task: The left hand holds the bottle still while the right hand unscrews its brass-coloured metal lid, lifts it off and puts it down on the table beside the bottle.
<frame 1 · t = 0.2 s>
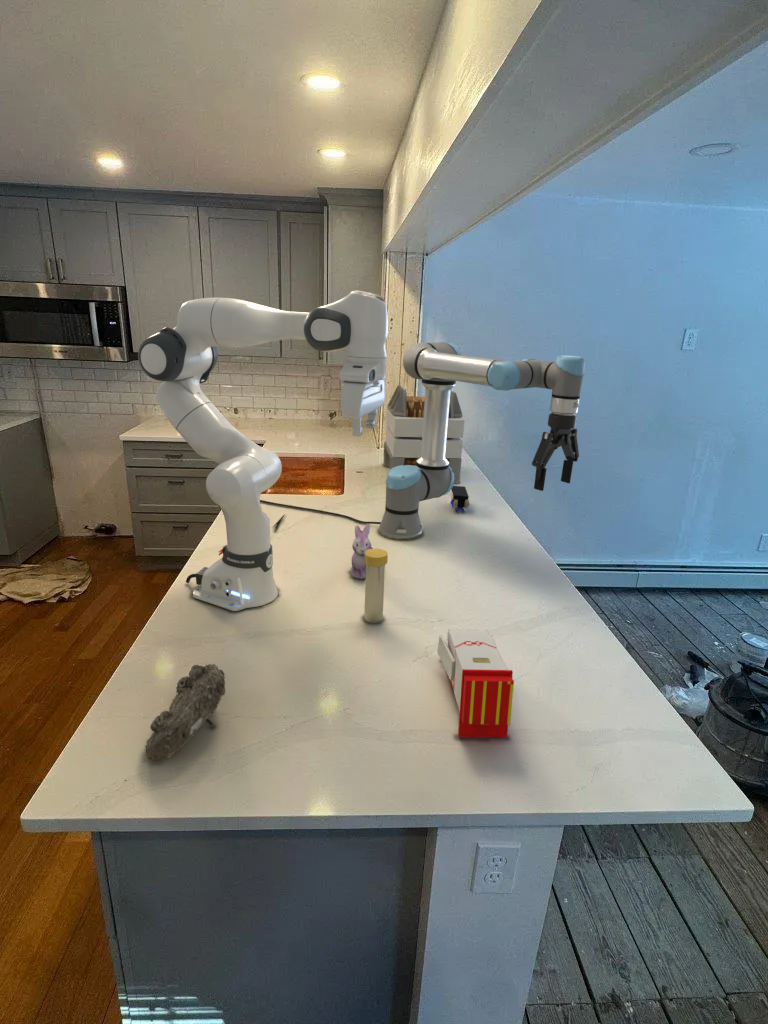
left hand: (364, 431, 130), 48 cm above the counter, tool pointing down, fingers open, 8 cm apart
right hand: (552, 485, 166), 28 cm above the counter, tool pointing down, fingers open, 13 cm apart
feather: (282, 518, 209), on the counter
slatted wooden crate: (419, 473, 275), on the counter
figurine: (364, 573, 169), on the counter
bottle: (373, 618, 145), on the counter
lid: (376, 554, 139), point 18 cm above the counter, screwed on, not yet turned
fossil: (193, 722, 106), on the counter
figurine character: (458, 508, 229), on the counter
toy: (469, 691, 119), on the counter
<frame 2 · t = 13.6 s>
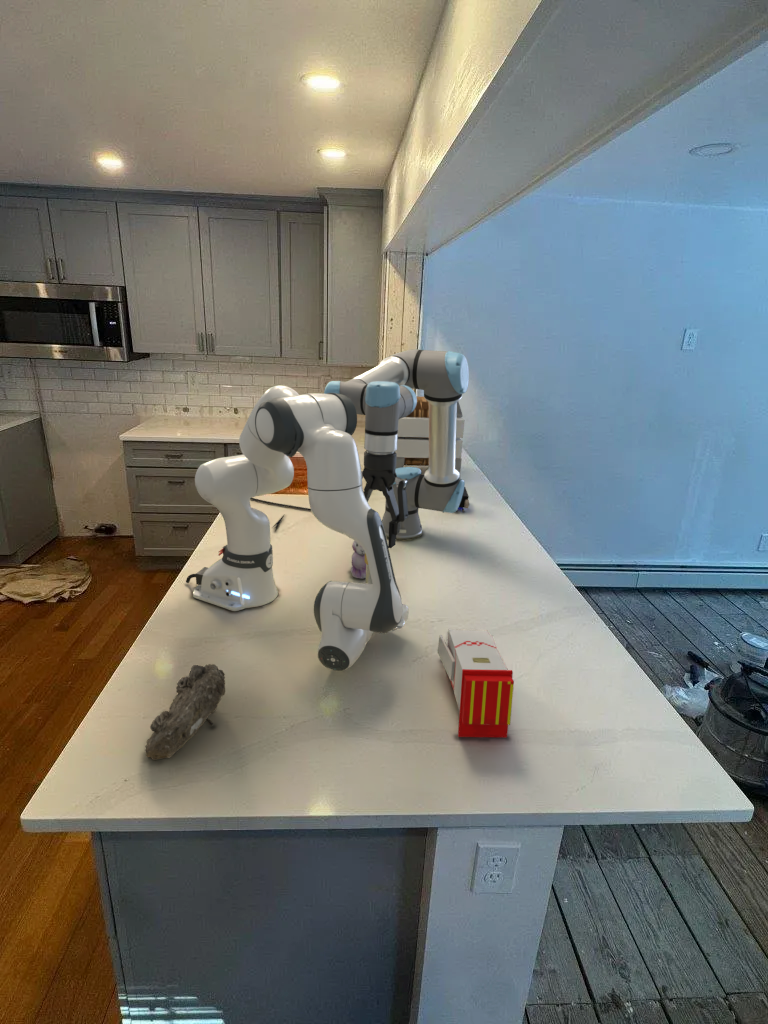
left hand: (375, 595, 144), 6 cm above the counter, tool horizontal, fingers closed on bottle, 5 cm apart
right hand: (376, 542, 138), 21 cm above the counter, tool pointing down, fingers open, 7 cm apart
bottle: (373, 618, 145), on the counter, touching left hand
everything else where it was.
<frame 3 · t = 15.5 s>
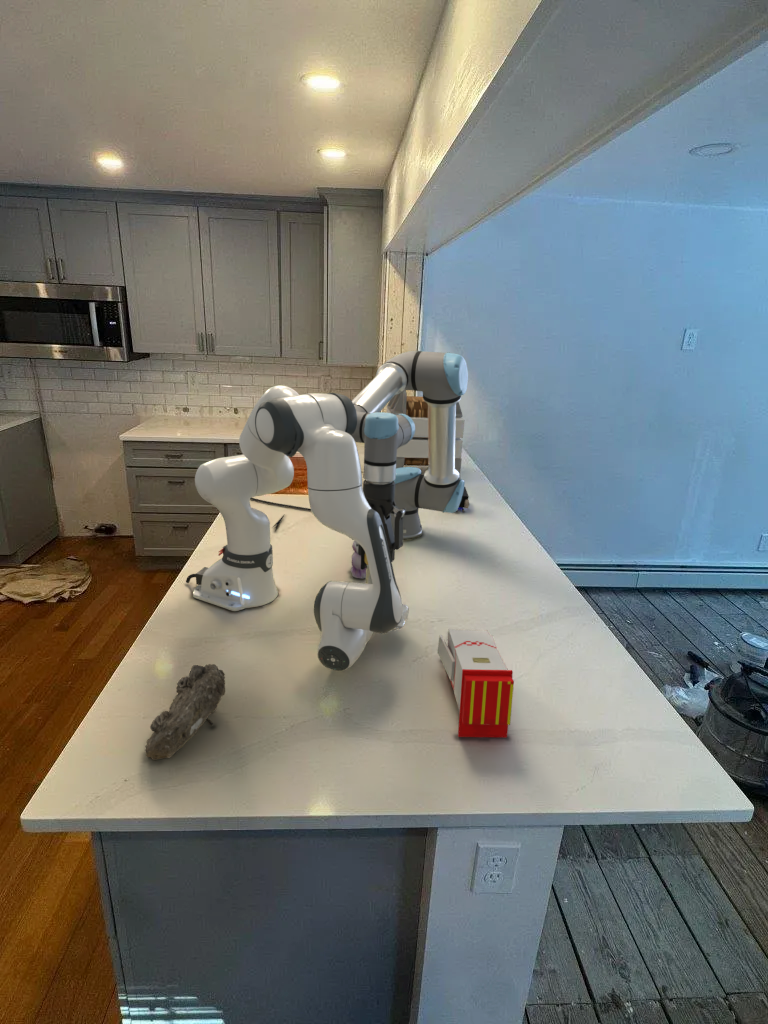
left hand: (375, 595, 144), 6 cm above the counter, tool horizontal, fingers closed on bottle, 5 cm apart
right hand: (375, 569, 140), 14 cm above the counter, tool pointing down, fingers closed on lid, 5 cm apart
bottle: (373, 618, 145), on the counter, touching left hand
lid: (376, 554, 139), point 18 cm above the counter, screwed on, not yet turned, touching right hand
everything else where it was.
when the right hand's fingers open (14 cm above the counter, at t = 16.9 s): lid stays where it is, point 18 cm above the counter.
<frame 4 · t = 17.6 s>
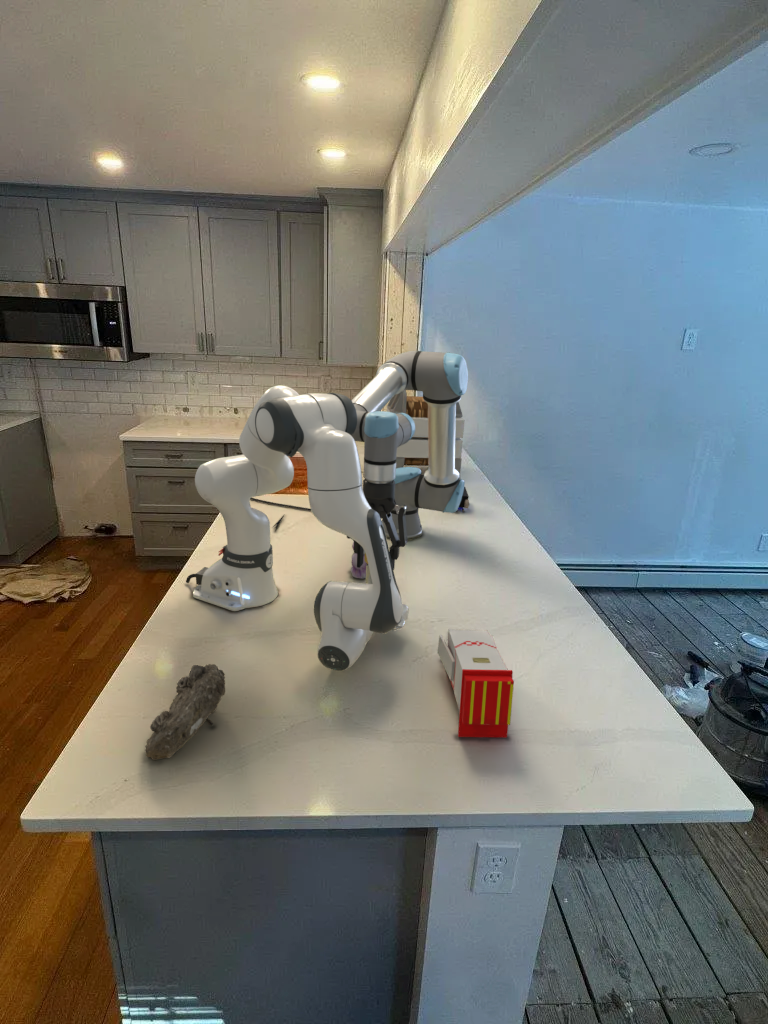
left hand: (375, 595, 144), 6 cm above the counter, tool horizontal, fingers closed on bottle, 5 cm apart
right hand: (375, 567, 140), 14 cm above the counter, tool pointing down, fingers open, 7 cm apart
bottle: (373, 618, 145), on the counter, touching left hand
lid: (376, 553, 139), point 18 cm above the counter, turned 91° so far, risen 0.3 cm, still on its thread
everything else where it was.
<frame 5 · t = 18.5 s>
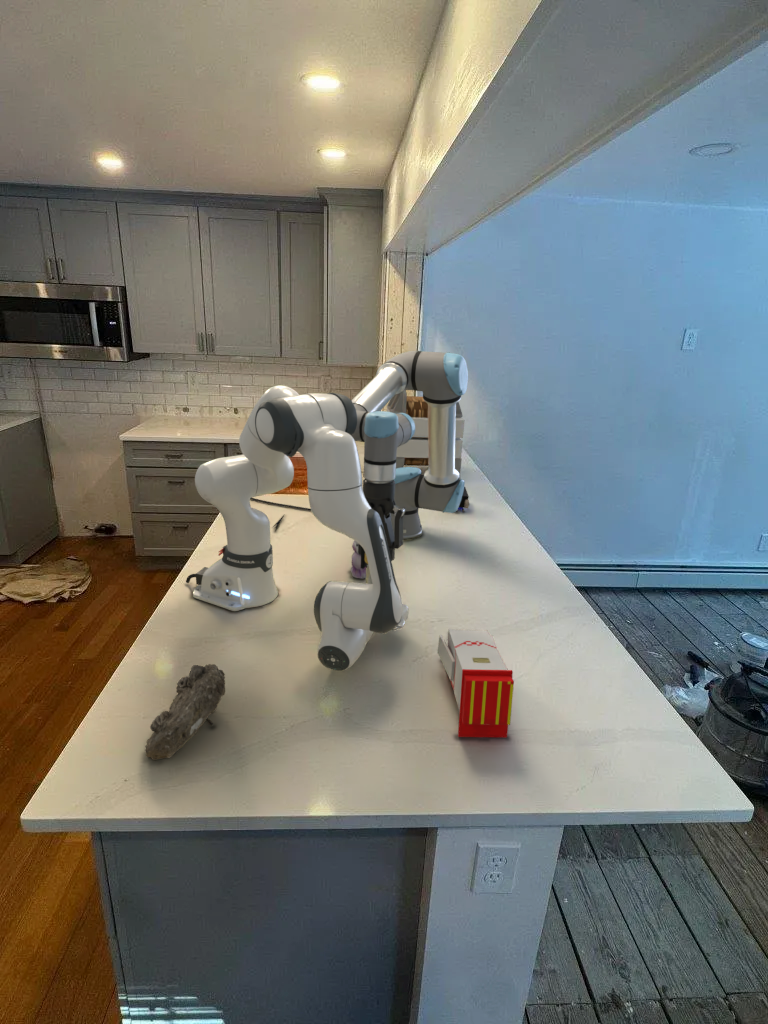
left hand: (375, 595, 144), 6 cm above the counter, tool horizontal, fingers closed on bottle, 5 cm apart
right hand: (375, 569, 140), 14 cm above the counter, tool pointing down, fingers closed on lid, 5 cm apart
bottle: (373, 618, 145), on the counter, touching left hand
lid: (376, 553, 139), point 18 cm above the counter, turned 91° so far, risen 0.3 cm, still on its thread, touching right hand
everything else where it was.
when the right hand's fingers open (0 cm above the counter, at t = 25.2 s): lid drops 2 cm, point 2 cm above the counter.
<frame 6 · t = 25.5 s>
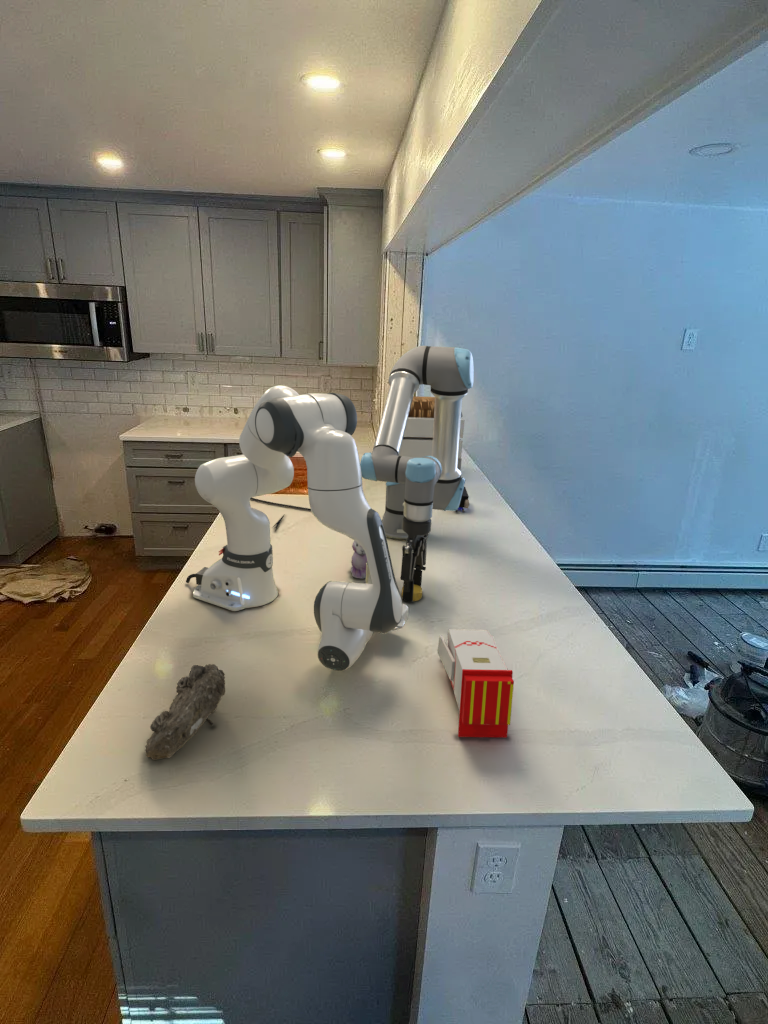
left hand: (375, 595, 144), 6 cm above the counter, tool horizontal, fingers closed on bottle, 5 cm apart
right hand: (411, 595, 157), 0 cm above the counter, tool pointing down, fingers open, 6 cm apart
bottle: (373, 618, 145), on the counter, touching left hand
lid: (412, 589, 156), point 2 cm above the counter, off its thread
everything else where it was.
when the left hand's fingers open (6 cm above the counter, at t = 27.0 s): bottle stays where it is, on the counter.
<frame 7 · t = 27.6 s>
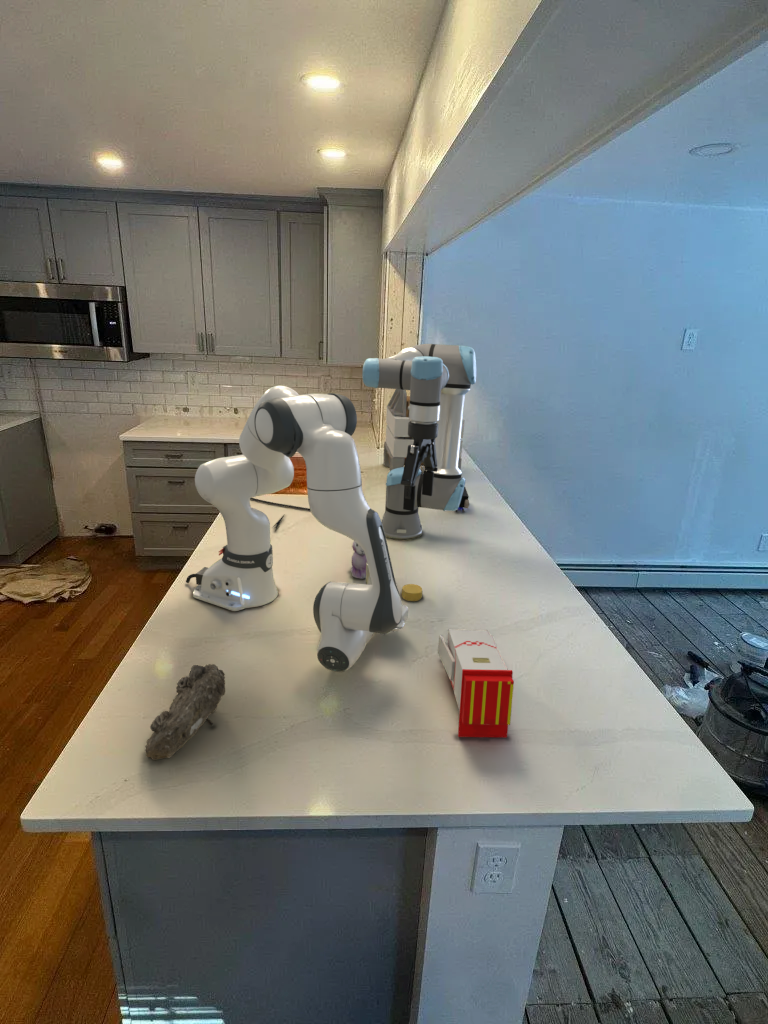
left hand: (375, 596, 143), 6 cm above the counter, tool horizontal, fingers open, 8 cm apart
right hand: (418, 502, 148), 27 cm above the counter, tool pointing down, fingers open, 13 cm apart
bottle: (373, 618, 145), on the counter
everything else where it was.
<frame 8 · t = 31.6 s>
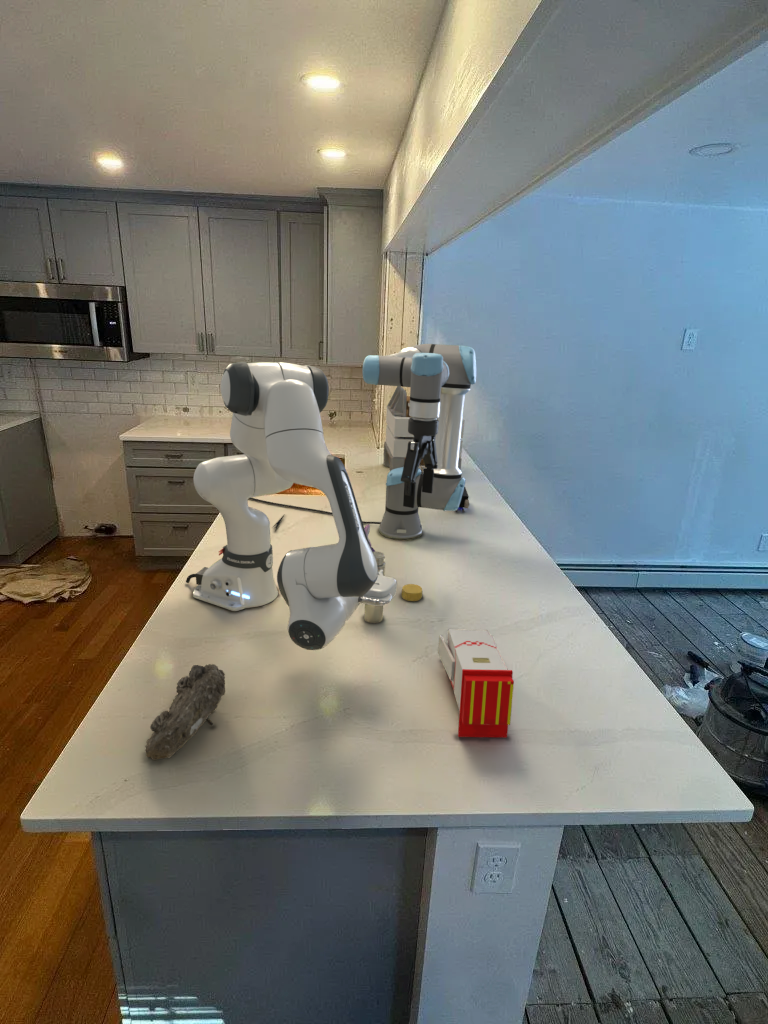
left hand: (359, 568, 127), 20 cm above the counter, tool horizontal, fingers open, 8 cm apart
right hand: (418, 499, 147), 28 cm above the counter, tool pointing down, fingers open, 13 cm apart
nothing on the counter moved.
at the end: lid came off its thread; lid point 2.1 cm above the counter; the left hand is holding nothing; the right hand is holding nothing; bottle tilted 0°; bottle moved 0.0 cm from its start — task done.
